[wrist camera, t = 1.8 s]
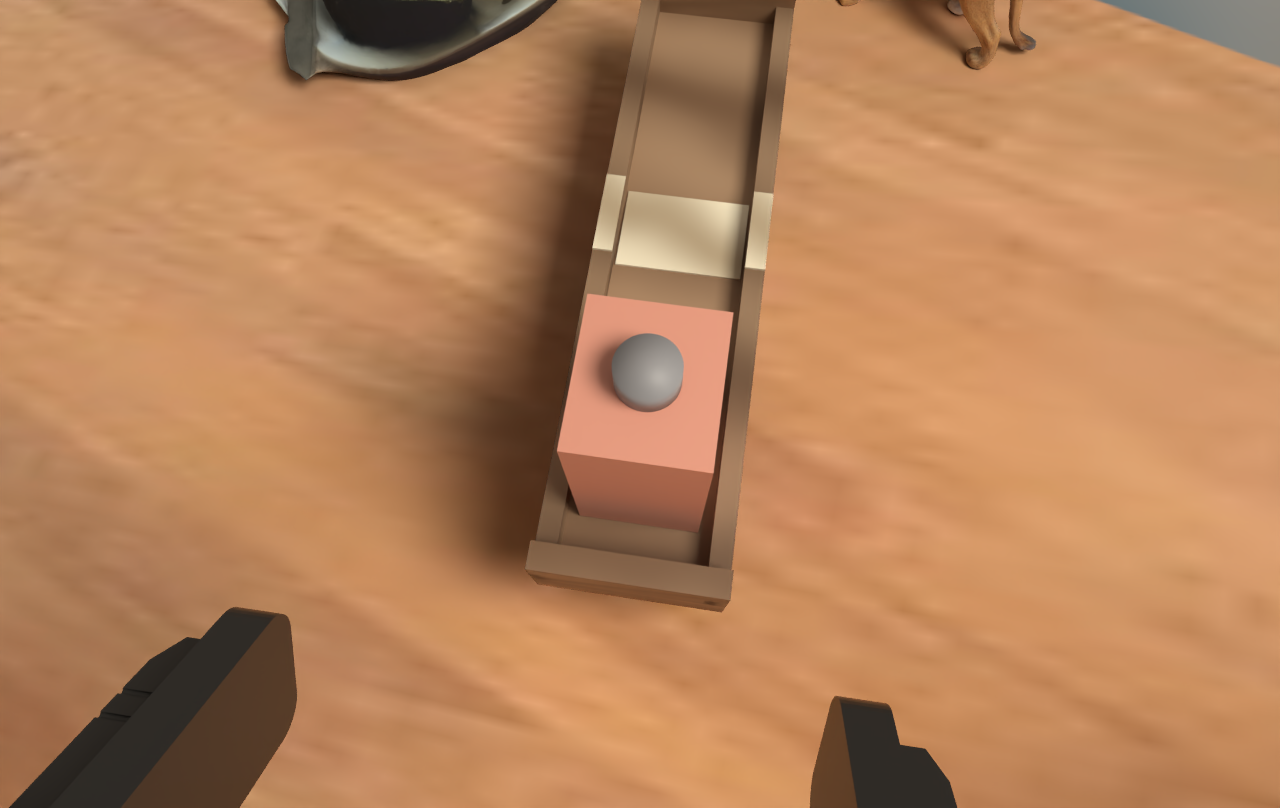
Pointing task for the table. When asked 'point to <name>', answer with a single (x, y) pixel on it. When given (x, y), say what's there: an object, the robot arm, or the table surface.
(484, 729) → the table surface
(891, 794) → the robot arm
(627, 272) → the beam
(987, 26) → the lion figurine
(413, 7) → the salad plate
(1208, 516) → the table surface
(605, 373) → the rider
